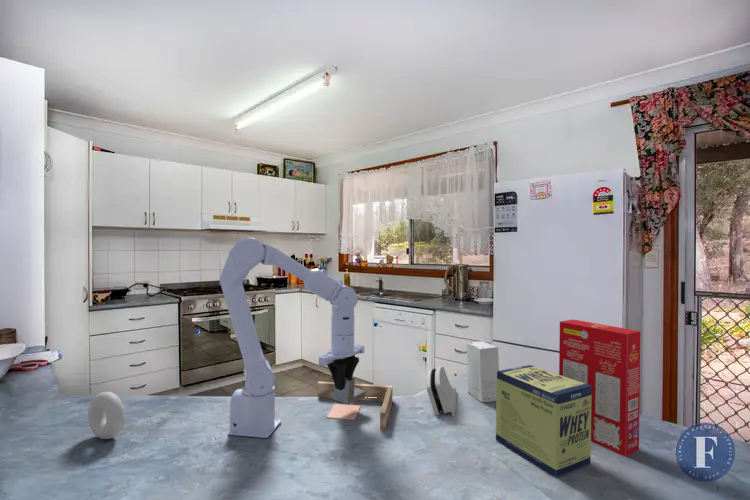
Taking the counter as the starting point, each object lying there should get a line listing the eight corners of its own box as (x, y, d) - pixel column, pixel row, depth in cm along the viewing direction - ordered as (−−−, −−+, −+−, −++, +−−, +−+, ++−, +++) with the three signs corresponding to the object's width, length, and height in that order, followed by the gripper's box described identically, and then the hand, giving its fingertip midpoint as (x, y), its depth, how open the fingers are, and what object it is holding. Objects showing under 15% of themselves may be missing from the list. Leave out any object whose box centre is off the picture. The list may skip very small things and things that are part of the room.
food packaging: (638, 449, 80) (640, 331, 80) (625, 456, 77) (627, 334, 77) (571, 421, 92) (572, 319, 92) (558, 427, 90) (559, 321, 90)
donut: (128, 439, 83) (128, 393, 83) (112, 446, 80) (112, 399, 79) (101, 429, 87) (101, 386, 87) (84, 436, 84) (84, 391, 84)
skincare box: (500, 401, 104) (500, 347, 104) (480, 403, 103) (481, 348, 103) (484, 390, 113) (484, 340, 112) (465, 392, 111) (466, 341, 111)
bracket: (348, 405, 93) (349, 380, 92) (333, 398, 96) (334, 375, 95) (365, 396, 98) (366, 374, 97) (350, 391, 101) (351, 368, 100)
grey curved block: (454, 417, 94) (441, 378, 95) (436, 421, 96) (423, 383, 96) (457, 392, 111) (445, 359, 111) (441, 396, 112) (430, 363, 113)
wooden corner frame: (297, 423, 91) (297, 406, 90) (318, 395, 108) (318, 381, 108) (385, 430, 88) (385, 412, 88) (392, 400, 105) (392, 385, 105)
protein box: (557, 479, 70) (558, 394, 69) (494, 440, 83) (495, 369, 83) (592, 464, 74) (593, 385, 74) (527, 430, 88) (528, 363, 88)
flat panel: (326, 417, 94) (326, 417, 94) (334, 404, 102) (334, 403, 102) (354, 419, 93) (354, 419, 93) (360, 406, 101) (360, 405, 101)
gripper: (350, 326, 103) (350, 376, 103) (310, 336, 92) (309, 392, 92) (370, 330, 99) (370, 382, 99) (330, 340, 87) (330, 399, 87)
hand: (342, 387), depth 95 cm, fingers closed on bracket
